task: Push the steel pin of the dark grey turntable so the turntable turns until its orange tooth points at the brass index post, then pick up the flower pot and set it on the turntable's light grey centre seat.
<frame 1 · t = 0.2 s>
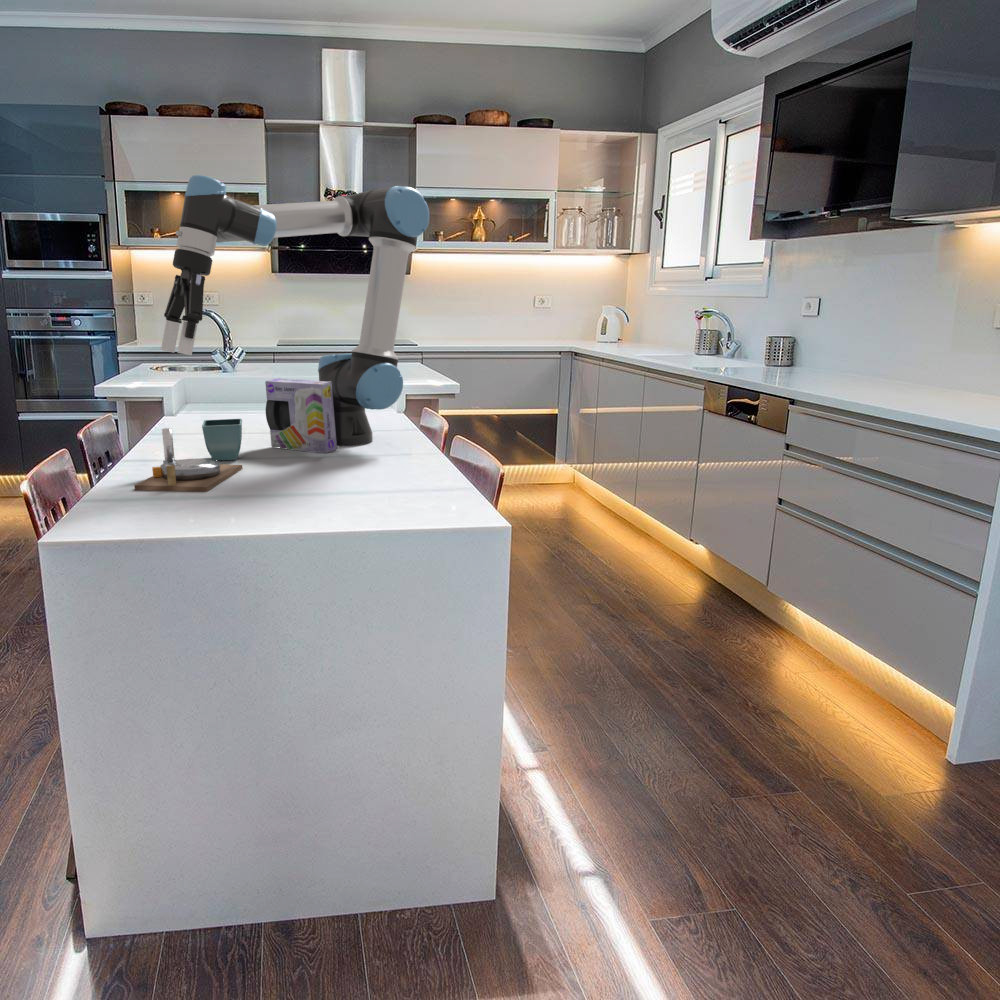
hand: (175, 352, 179), 27 cm above the countertop, tool tilted 15°, fingers open, 13 cm apart
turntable: (184, 452, 182), point 6 cm above the countertop, hinge at -30.0°
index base: (191, 479, 183), on the countertop
flower pot: (225, 459, 203), on the countertop
cake pan box: (301, 450, 215), on the countertop
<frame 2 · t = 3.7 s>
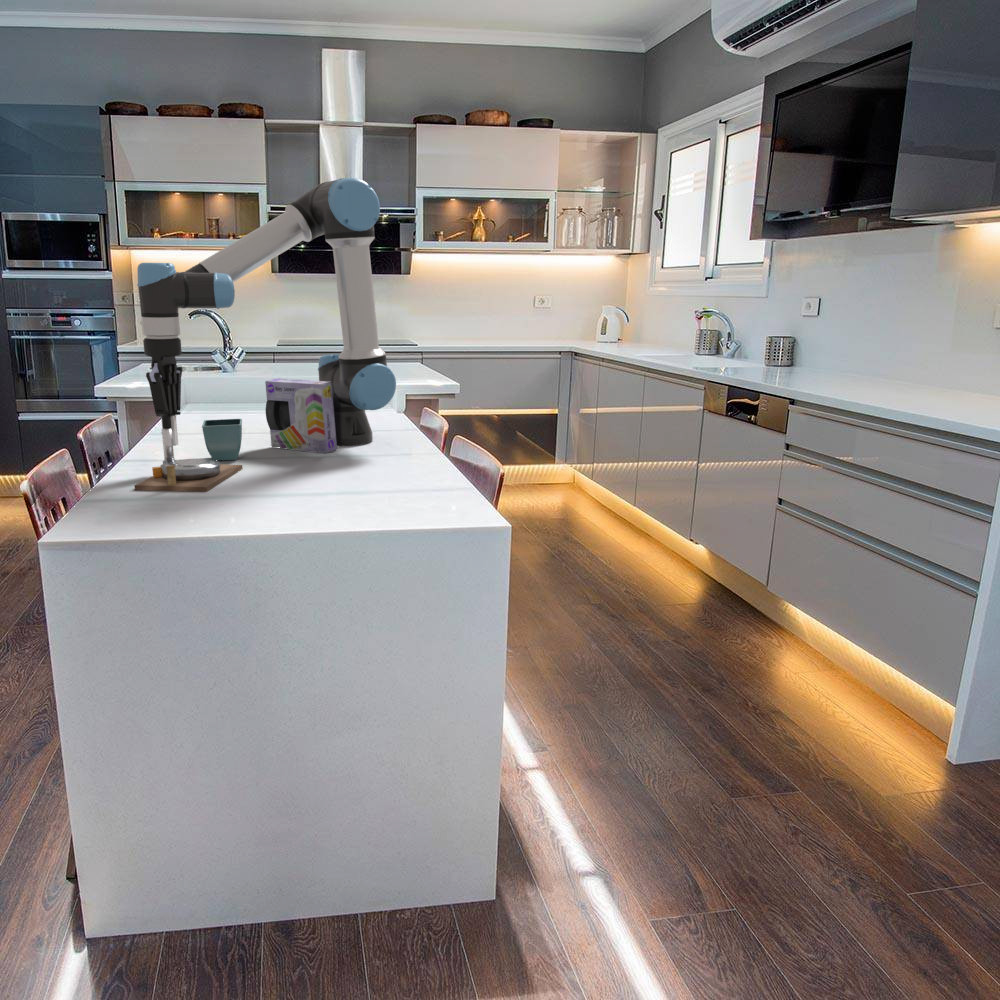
hand: (171, 444, 188), 6 cm above the countertop, tool pointing down, fingers closed
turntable: (184, 452, 181), point 6 cm above the countertop, hinge at -29.3°, touching gripper
everything else where it was.
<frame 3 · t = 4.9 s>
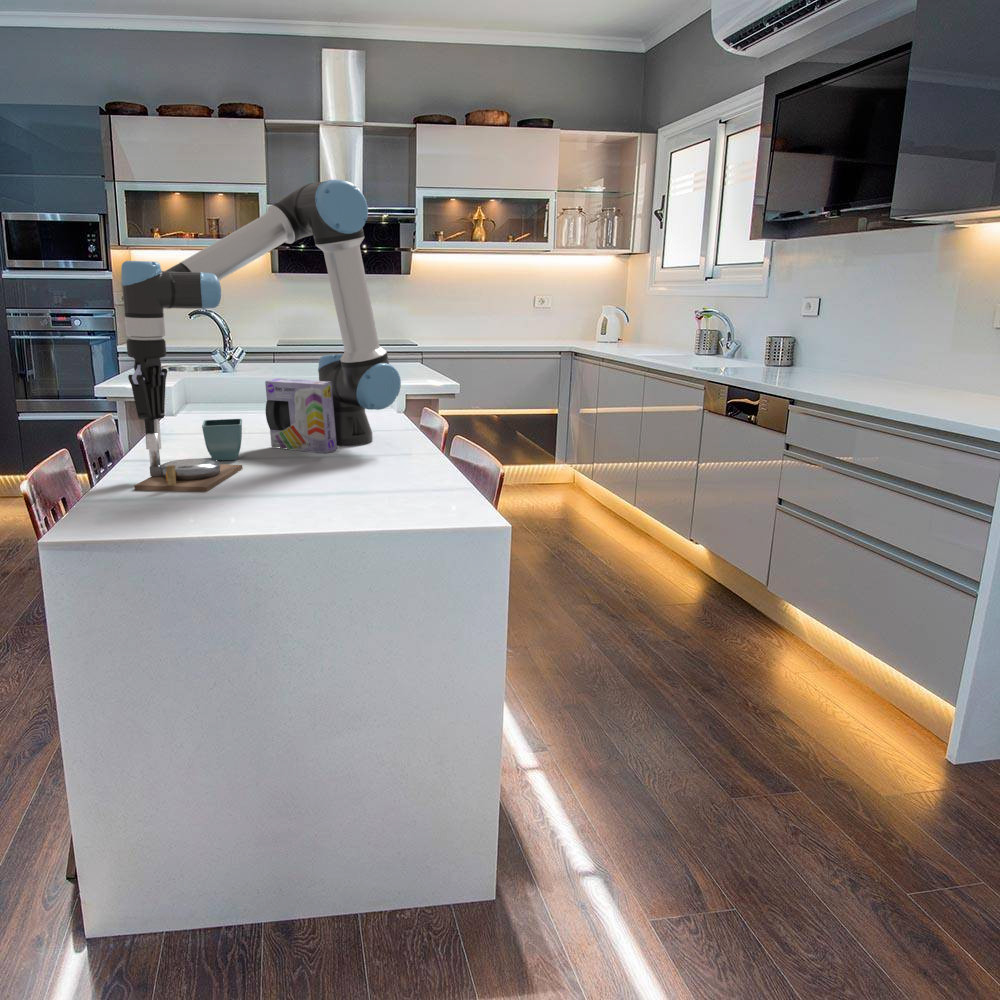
hand: (153, 448, 182), 6 cm above the countertop, tool pointing down, fingers closed
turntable: (183, 453, 181), point 6 cm above the countertop, hinge at 18.2°, touching gripper
everything else where it was.
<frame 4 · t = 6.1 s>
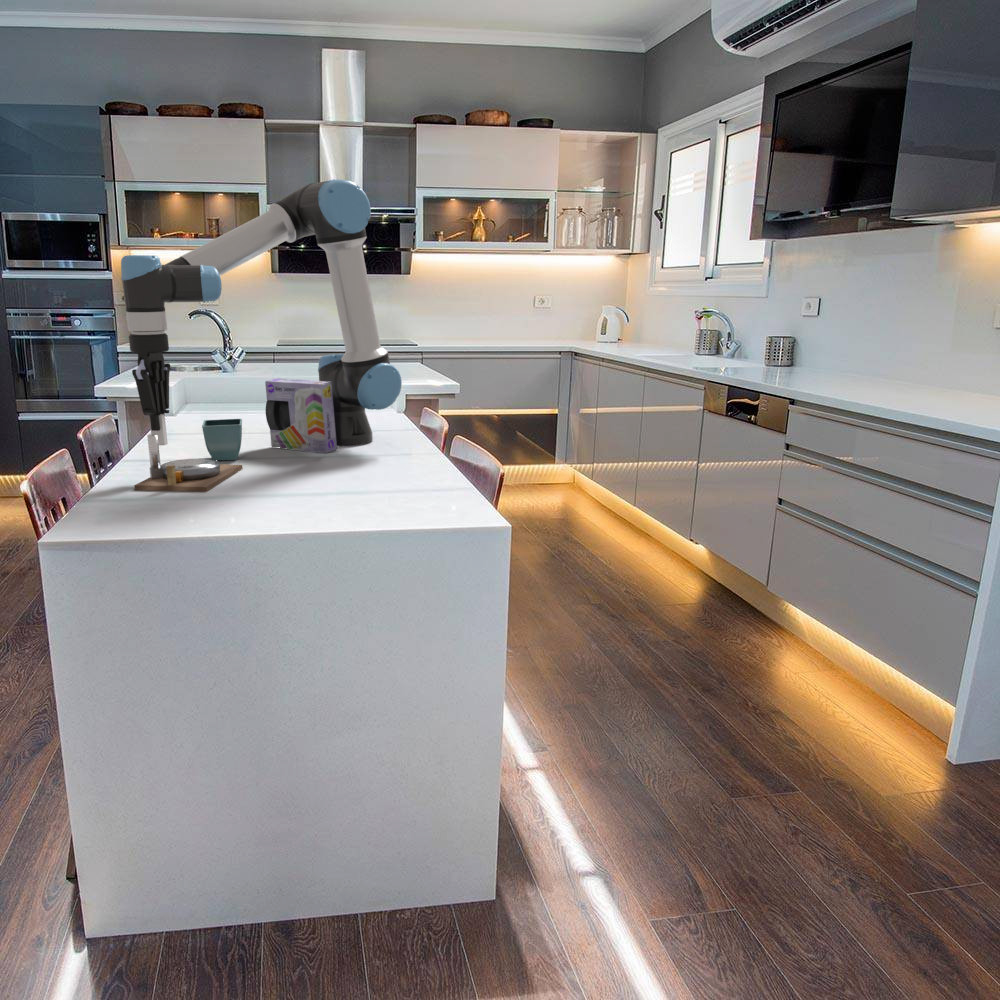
hand: (160, 444, 181), 7 cm above the countertop, tool pointing down, fingers closed
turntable: (184, 453, 180), point 6 cm above the countertop, hinge at 32.9°
everything else where it was.
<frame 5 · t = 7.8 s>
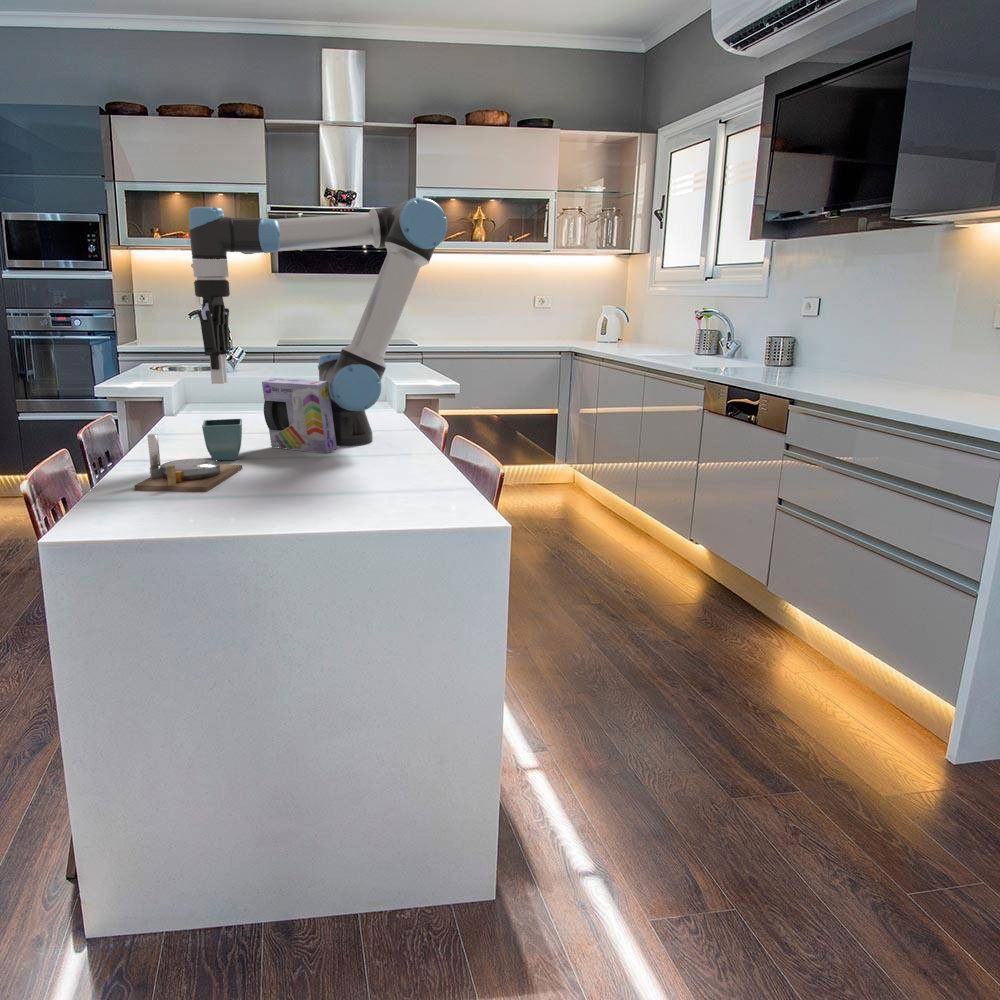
hand: (219, 382, 198), 18 cm above the countertop, tool pointing down, fingers closed
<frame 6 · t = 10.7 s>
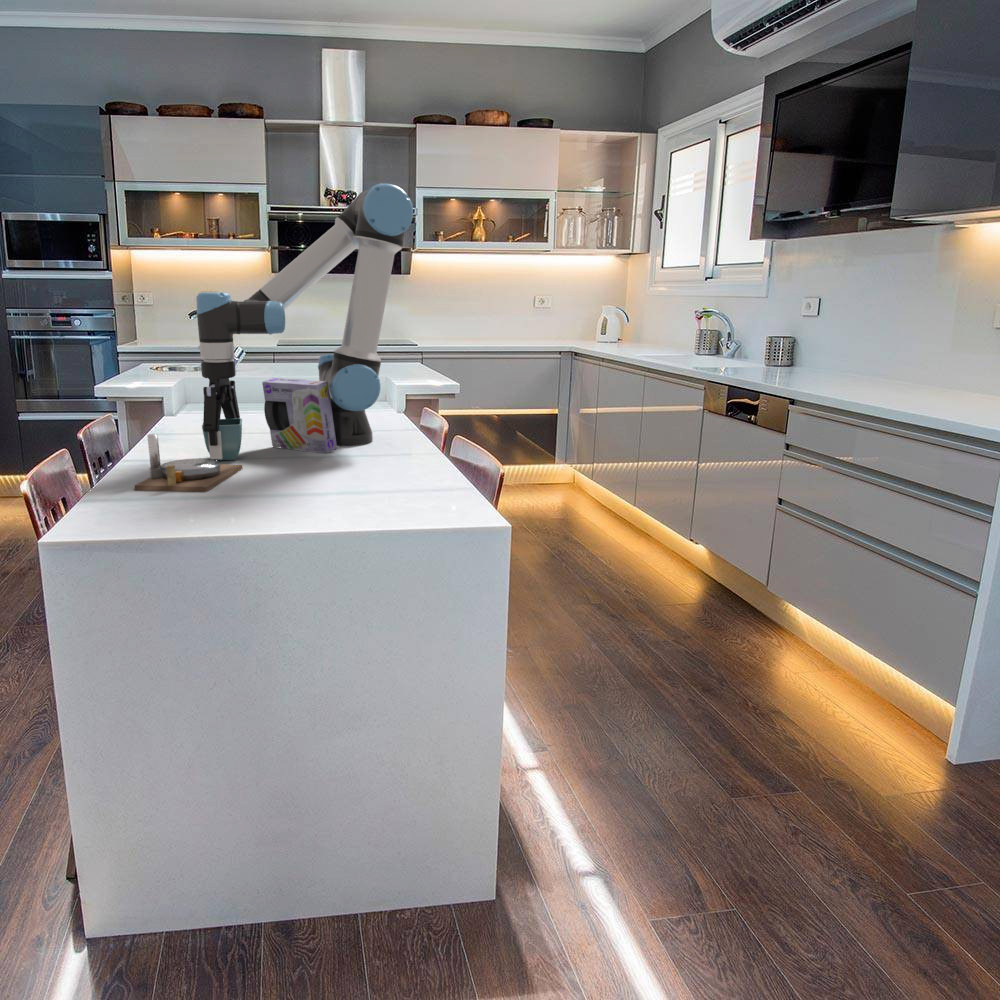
hand: (224, 454, 203), 1 cm above the countertop, tool pointing down, fingers closed on flower pot, 10 cm apart
flower pot: (225, 459, 203), on the countertop, touching gripper
cake pan box: (302, 449, 215), on the countertop, touching arm
everything else where it was.
when the fingers open (6 cm above the countertop, at t = 16.9 s): flower pot moves 2 cm, resting on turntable.
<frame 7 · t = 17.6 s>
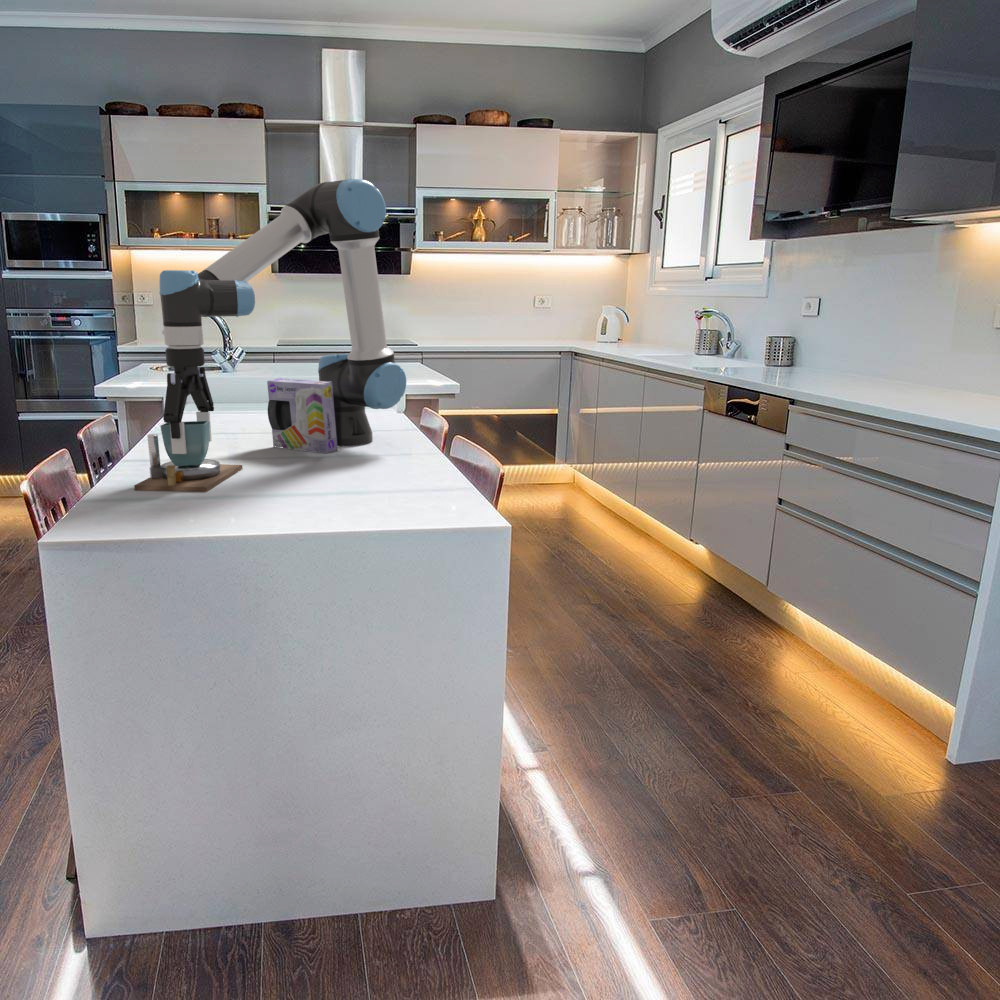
hand: (192, 447, 181), 7 cm above the countertop, tool pointing down, fingers open, 13 cm apart
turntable: (184, 453, 180), point 6 cm above the countertop, hinge at 32.9°, touching flower pot
flower pot: (188, 465, 180), point 3 cm above the countertop, touching gripper, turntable
cake pan box: (303, 450, 215), on the countertop
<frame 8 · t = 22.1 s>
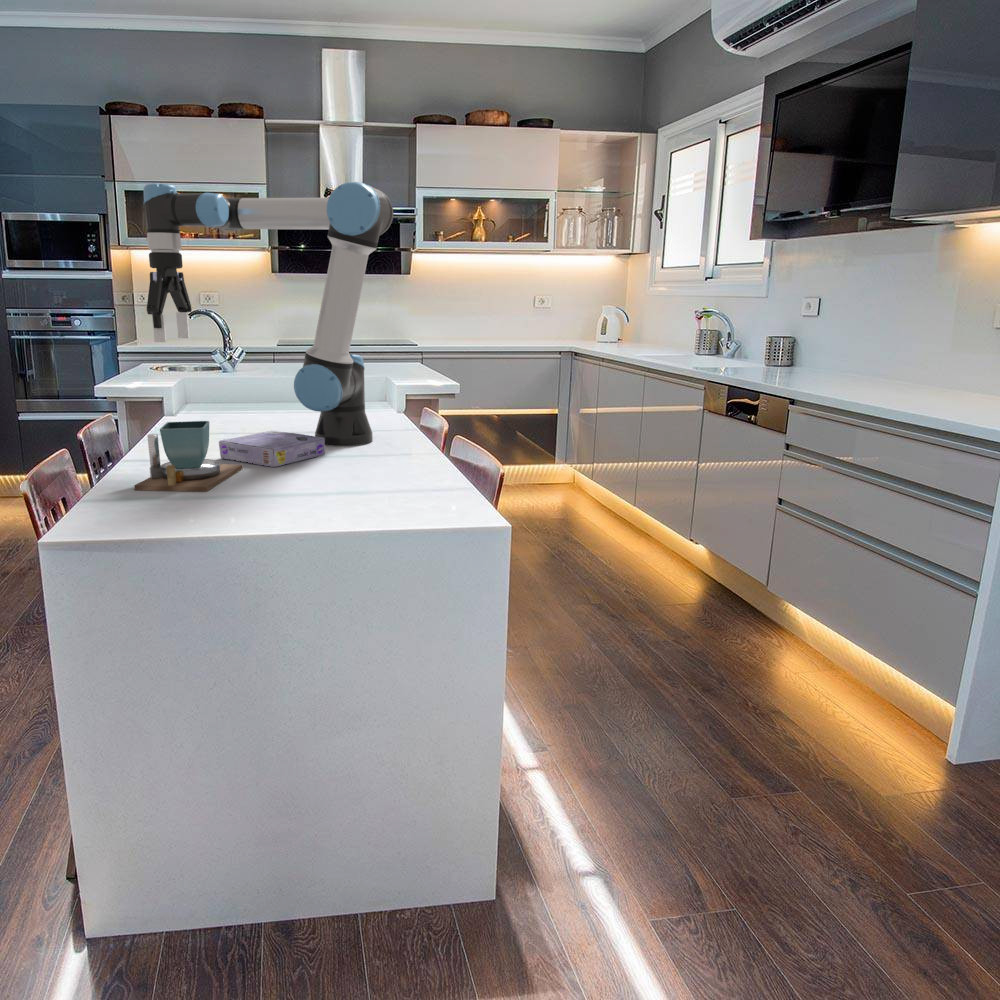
hand: (172, 340, 212), 27 cm above the countertop, tool pointing down, fingers open, 13 cm apart
flower pot: (188, 467, 180), point 3 cm above the countertop, touching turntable
cake pan box: (297, 442, 213), point 2 cm above the countertop
everything else where it was.
at the end: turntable at +33° (first picture: -30°); flower pot 2.5 cm off-centre on the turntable, point 3.1 cm above the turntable's base; flower pot tilted 0° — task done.
